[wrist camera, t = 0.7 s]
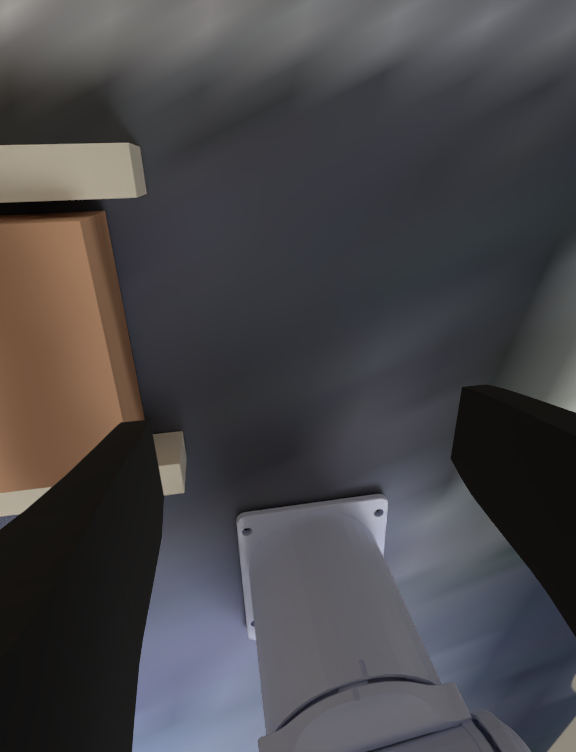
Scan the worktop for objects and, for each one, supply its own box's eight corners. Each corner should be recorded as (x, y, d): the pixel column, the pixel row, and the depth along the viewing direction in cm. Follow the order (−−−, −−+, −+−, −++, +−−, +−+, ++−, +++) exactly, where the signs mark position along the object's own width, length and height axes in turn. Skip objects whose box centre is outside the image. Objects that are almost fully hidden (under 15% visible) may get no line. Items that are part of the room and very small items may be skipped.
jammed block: (104, 210, 16) (80, 221, 13) (146, 427, 20) (134, 476, 16) (-49, 217, 15) (-117, 229, 12) (25, 440, 19) (-11, 494, 16)
